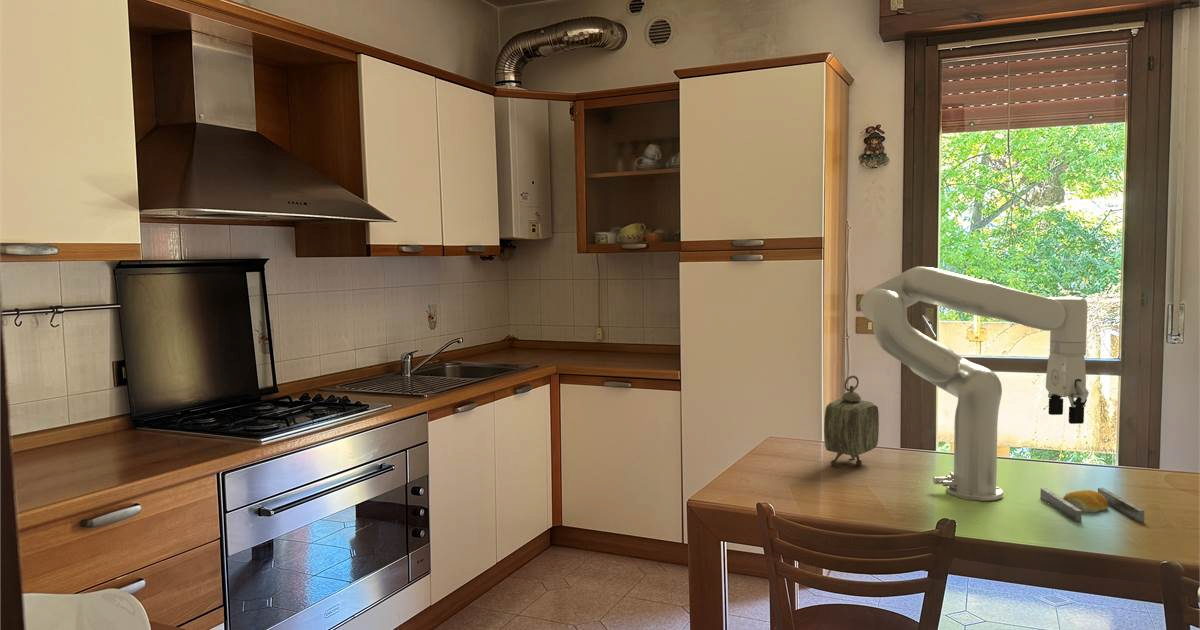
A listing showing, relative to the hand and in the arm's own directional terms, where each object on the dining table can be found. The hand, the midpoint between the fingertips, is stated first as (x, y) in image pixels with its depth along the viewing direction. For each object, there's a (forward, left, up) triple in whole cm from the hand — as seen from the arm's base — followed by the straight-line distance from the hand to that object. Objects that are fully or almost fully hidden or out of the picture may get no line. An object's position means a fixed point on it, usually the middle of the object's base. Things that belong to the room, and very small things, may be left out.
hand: (1065, 418), depth 193 cm
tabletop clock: (-44, +26, -19) cm, 54 cm away
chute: (0, -12, -18) cm, 22 cm away
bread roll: (0, -10, -19) cm, 21 cm away
